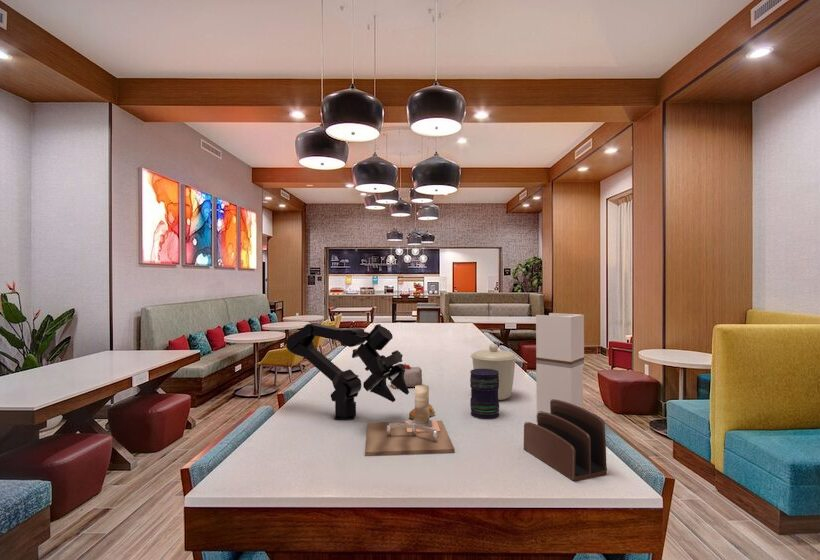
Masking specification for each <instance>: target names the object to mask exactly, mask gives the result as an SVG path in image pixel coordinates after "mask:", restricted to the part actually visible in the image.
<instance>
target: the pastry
mask: <svg viewBox="0 0 820 560" xmlns="http://www.w3.org/2000/svg"><path fill="white" fill-rule="evenodd" d="M435 414H436V412H435V409H434V406H433V405H432V404H430V403H429V418H431V417H430V416H432V417H434V416H435ZM433 415H434V416H433ZM408 418H409V419H412V420H414V419H415V407H414V408H413V409H412V410H411V411H409V414H408Z"/></svg>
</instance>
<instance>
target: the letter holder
mask: <svg viewBox="0 0 820 560" xmlns="http://www.w3.org/2000/svg"><path fill="white" fill-rule="evenodd" d="M550 413H551V414H550ZM550 413H547V412H543V411H539V412H538V414H537V413H536V423H537V424H536V423H533V422H530V421H525V422H524V423H523V424H524V425H523V450H525V451H526V452H527V453H529V454H531V455H532V456H534V457H535V458H537V459H538V460H540V461H542V463H545V464H546V465H548V466H550V468H552V469H554V470H556V471H557V472H558V473H560V474H562V475H564V476H565V477H567V478H568V479H569V480H571V481H573V482H577V481H582V480H587V479H593V478H597V477H601V476H606V475H607V474H608V470H607V469H608V468H607V467H608V463H607V444H606V443H607V441H606V440H607V439H606V426H605V425H606V423H605V421H604V419H603V418H601V417H600V416H598V415H596V414H595V413H593V412H591V411H589V410H587V409H585V408H584V407H583V408H581V407H578V406H576V405H573V404H570V403H567V402H564V401H560V400H555V399H552V400H551V401H550Z"/></svg>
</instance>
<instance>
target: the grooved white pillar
mask: <svg viewBox="0 0 820 560" xmlns="http://www.w3.org/2000/svg"><path fill="white" fill-rule="evenodd" d="M535 339H536V340H535V341H536V342H535V343H536V344H535V346H536V347H535V354H536V355H535V356H536V359H535V361H536V364H535V367H536V368H535V371H536V373H535V374H536V381H535V383H536V415H537V414H538V412H539V411H543V412H547V413H550V401H551V400H552V399H555V400H560V401H564V402H567V403H570V404H573V405H576V406H578V407H581V408H583V409H584V383H583V382H584V375H583V374H584V368H585V314H578V313H577V314H575V313H557V312H549V313H548V315H547V314H546V315H545V314H536V315H535ZM550 414H551V413H550Z"/></svg>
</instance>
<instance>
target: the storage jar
mask: <svg viewBox="0 0 820 560" xmlns="http://www.w3.org/2000/svg"><path fill="white" fill-rule="evenodd" d="M498 375H499V372H498V371H497V370H493V369H473V368H472V369H471V370H470V379H469V381H470V382H469V383H470V385H469V386H470V388H471V389H470V393H471V394H470V395H471V397H470V404H469V405H470V416H471V417H472V416H473V418H474V419H479V420H494V419H497V418H499V417H500V413H499V412H500V400H499V399H498V389H499V376H498Z"/></svg>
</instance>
